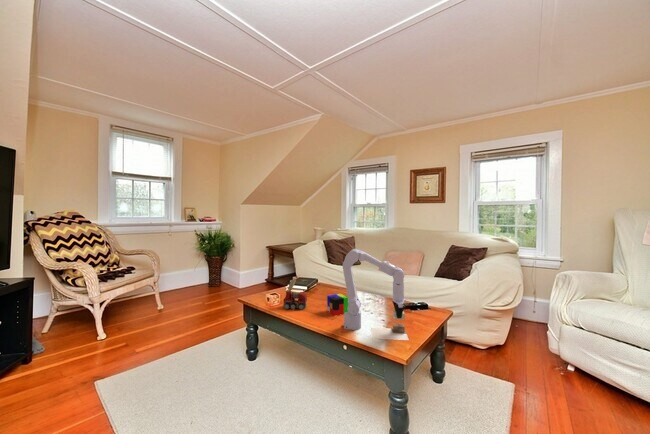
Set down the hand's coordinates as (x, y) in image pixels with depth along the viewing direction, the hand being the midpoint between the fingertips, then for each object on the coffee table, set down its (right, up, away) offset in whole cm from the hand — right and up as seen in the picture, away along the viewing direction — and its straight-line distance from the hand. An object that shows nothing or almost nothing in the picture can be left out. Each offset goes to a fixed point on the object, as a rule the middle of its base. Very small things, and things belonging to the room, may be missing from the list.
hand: (398, 316), depth 145 cm
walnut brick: (0, -8, 0) cm, 8 cm away
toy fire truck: (-59, -9, +42) cm, 73 cm away
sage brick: (0, -1, 0) cm, 1 cm away
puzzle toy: (-31, -9, +32) cm, 45 cm away
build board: (-6, -9, -3) cm, 11 cm away
